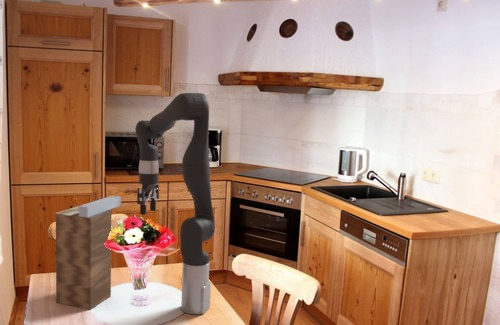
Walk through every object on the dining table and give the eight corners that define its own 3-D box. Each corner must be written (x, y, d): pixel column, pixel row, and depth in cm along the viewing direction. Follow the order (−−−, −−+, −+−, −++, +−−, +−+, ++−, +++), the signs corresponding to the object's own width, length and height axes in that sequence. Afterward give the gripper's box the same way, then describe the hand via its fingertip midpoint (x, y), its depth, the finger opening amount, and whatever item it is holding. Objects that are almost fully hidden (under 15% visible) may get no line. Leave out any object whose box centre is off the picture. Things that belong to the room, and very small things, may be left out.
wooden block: (110, 296, 176) (111, 210, 172) (90, 309, 165) (90, 217, 160) (78, 290, 180) (78, 206, 176) (56, 302, 169) (55, 213, 164)
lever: (120, 205, 180) (120, 196, 179) (87, 217, 161) (87, 207, 160) (112, 204, 181) (112, 195, 180) (78, 216, 162) (78, 206, 161)
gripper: (149, 174, 181) (148, 216, 182) (165, 170, 194) (164, 210, 196) (131, 173, 183) (130, 215, 184) (148, 169, 196) (147, 208, 198)
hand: (148, 212), depth 190 cm, fingers open, 8 cm apart
